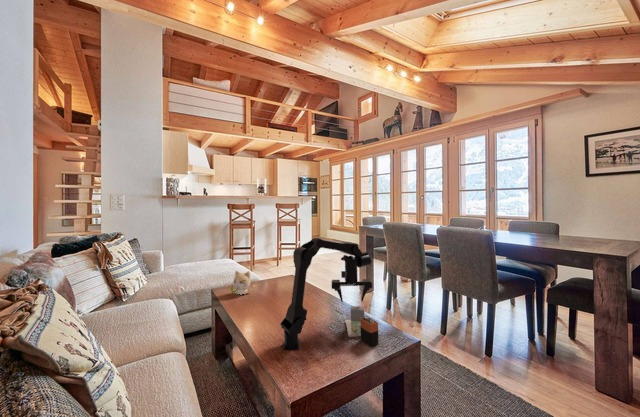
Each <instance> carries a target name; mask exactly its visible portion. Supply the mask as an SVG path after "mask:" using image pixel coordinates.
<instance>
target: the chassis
mask: <svg viewBox="0 0 640 417" xmlns="http://www.w3.org/2000/svg"><path fill="white" fill-rule="evenodd" d="M345 326H346V331H347V335H348V337H349V338H350V337H351V338H352V337H361V328H360V327H351V319H345Z"/></svg>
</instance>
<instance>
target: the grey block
mask: <svg viewBox="0 0 640 417" xmlns="http://www.w3.org/2000/svg"><path fill="white" fill-rule="evenodd" d="M364 316H365V306H356V305H355V306H352V305H351V306H350V320H351V327H360V328H361V326H360V319H361V318H364Z"/></svg>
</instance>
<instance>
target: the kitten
mask: <svg viewBox="0 0 640 417" xmlns="http://www.w3.org/2000/svg"><path fill="white" fill-rule="evenodd" d="M250 272H251V271H250V270H249V271H246V272H241V273H240V272H239V271H238V270H235V272H234V273H235V274H234V279H233V285H232V286H231V288H230V291H231V294H232V293H233V292H234V293H235V292H236V291H237V292H236V295H237V294H240V295H242V294H244V295H246V294H248V293H250V292H252V291H253V290H254V289H255V288H256V285H255V284H253V285H252V286H251V283H252V282H251V273H250ZM250 286H251V288H250V289H248V288H249V287H250ZM233 288H236V290H234V289H233ZM240 295H239V296H240ZM242 296H243V295H242Z"/></svg>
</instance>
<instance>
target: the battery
mask: <svg viewBox="0 0 640 417" xmlns="http://www.w3.org/2000/svg"><path fill="white" fill-rule="evenodd" d="M360 326H361V336H360V341H362V342H363V343H365V344H366V345H368V346H369V347H373V346H374V347H375V346H376V345H378V344H379V322H378V321H376V320H375V319H373V318H372V317H370V316H369V315H364V318H361V319H360Z"/></svg>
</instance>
